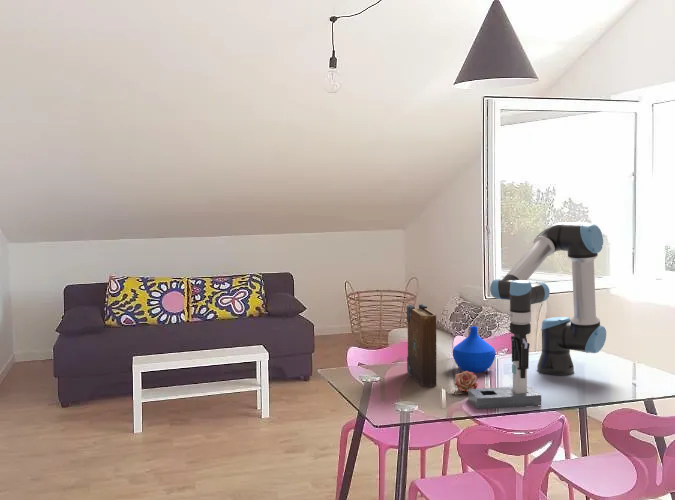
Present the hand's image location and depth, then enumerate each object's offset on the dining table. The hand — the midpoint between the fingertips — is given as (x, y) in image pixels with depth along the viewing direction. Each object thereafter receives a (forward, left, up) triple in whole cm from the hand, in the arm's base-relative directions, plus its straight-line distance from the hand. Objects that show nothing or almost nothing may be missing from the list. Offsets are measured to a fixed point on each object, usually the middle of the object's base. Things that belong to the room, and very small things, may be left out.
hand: (519, 384), depth 278 cm
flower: (+16, -16, -7) cm, 24 cm away
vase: (+4, -48, -7) cm, 49 cm away
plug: (0, 0, -6) cm, 6 cm away
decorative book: (+29, -37, -7) cm, 48 cm away
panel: (+6, 0, -7) cm, 9 cm away
